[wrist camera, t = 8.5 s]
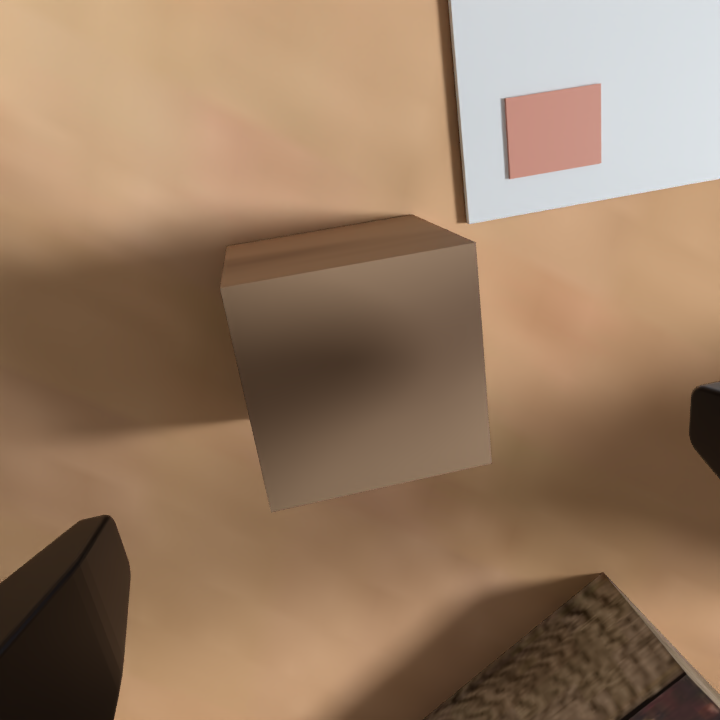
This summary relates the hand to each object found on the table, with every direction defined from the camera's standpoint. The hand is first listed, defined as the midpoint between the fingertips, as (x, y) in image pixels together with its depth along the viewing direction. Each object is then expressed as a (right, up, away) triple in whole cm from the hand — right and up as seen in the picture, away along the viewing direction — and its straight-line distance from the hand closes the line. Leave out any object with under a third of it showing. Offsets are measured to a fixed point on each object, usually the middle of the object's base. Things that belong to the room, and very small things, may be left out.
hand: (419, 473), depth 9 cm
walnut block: (-2, +3, +8) cm, 9 cm away
